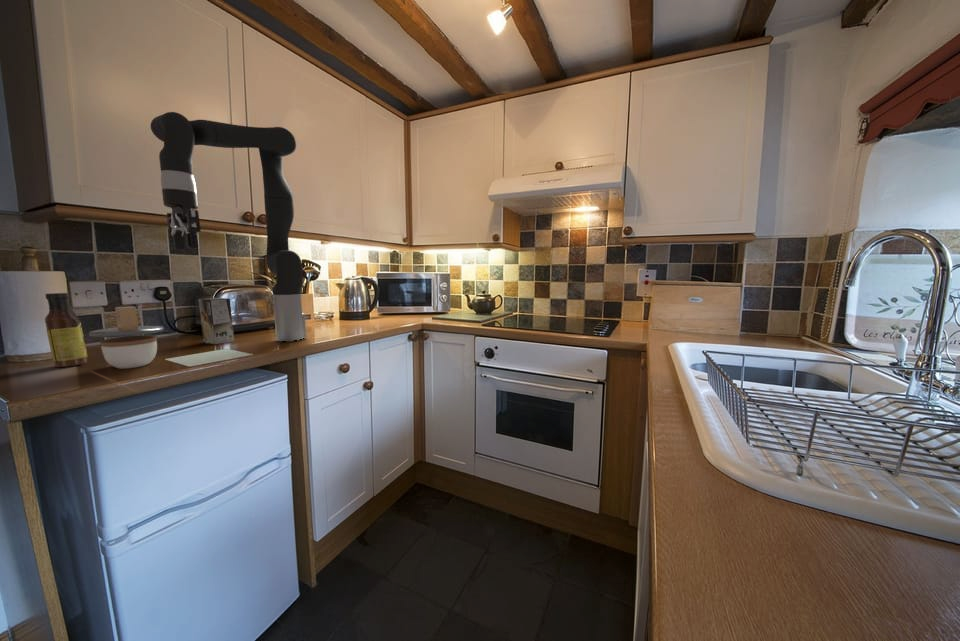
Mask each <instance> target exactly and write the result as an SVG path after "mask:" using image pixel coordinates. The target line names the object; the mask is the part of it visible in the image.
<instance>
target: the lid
mask: <svg viewBox="0 0 960 641" xmlns="http://www.w3.org/2000/svg"><path fill="white" fill-rule="evenodd" d="M114 310H115V317H116V324H117V326H116V327H109V328H103V329H102V328H101V329H96V330H95V329H94V330H92V331H89V332H88V334H89V335H88V336H89V337H91V338H117V337H125V336H138V335H152V334H155V333H156V334H157V333H160V332H164V330H165V328H164V326H162V325H139V323H138V314H137V307H136V306H133V305H132V306H116V307H114Z"/></svg>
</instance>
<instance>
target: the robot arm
mask: <svg viewBox="0 0 960 641" xmlns="http://www.w3.org/2000/svg"><path fill="white" fill-rule="evenodd" d="M150 130H151V132H152V134H153V135H154V136H155V137H156V139H158V140H160V142H163V148H162V149H161V150H160V151H159V156H158V159H159V166H160V186H161V193H162V194H161V195H162V202H163V206H164V207H167V208H170V209H172V210H171V213H170V212H167V213H166V220H167V228H168V229H167V231H168V232H167V233H168V234H169V235H171V236H172V238H173V247H174V249H175V250H185V240H184V239H185V238H184V233H185V237H186V246H187V248H188V249H198V247H199V245H198V235H199V233H200V232H202V231H201V223H200V215H199V210H197V209H198V208H199V203H198V194H197V184H196V180H195V176H194V167H193V166H194V165H193V155H194V147H195V146H206V147H215V148H222V149H223V148H224V149H246V148H247V149H252V148H253V149H258V153H259V158H260V162H261V170H262V181H263V184H262V185H263V196H264V197H263V200H264V212H265V226H266V227H265V228H266V255H265V256H266V258H265V259H266V262H265V264H266V266H267V268H268V270H269V271H270V272H271V273H272V274H273V275H275V276H276V281H275V284H274V285H273V287H272V288H271V289H272V303H273V314H274V325H275V327H274V328H275V339H276V341H277V342H282V341H286V342H295V341H294V340H297V341H301V340H300V339H302V340H303V338H304V339H307V329H306V328H307V327H306V314H305V313H304V312H303V304H302V294H301V293H302V291H301V290H302V287H303V263H302V260H301V258H300V255H299V254H298V253H296V252H295V251H293V250H290V248H289V236H290V231H291V229H292V225H293V222H294V218H295V206H294V204H295V203H294V195H293V192H292V191H291V188H290V186H289V183H287V181H286V178H285V176H284V171H283V158H284V157H287V156H290V155H292V154H294V153H295V151H296V149H297V140H296V138H295V135H294V134H293V133H292V132H291V131H290V130H289V129H287V128H284V127H282V126H272V127H269V126H267V127H259V126H247V125H246V126H245V125H240V124H233V123H232V124H231V123H226V122H220V121H213V120H207V119H194V120H189V119H188V118H187V117H186V116H184V115H183V114H181V113H179V112H176V111H168V112H165V113H162V114H160V115H158V116H155V117H154V118H153V119H152V120H151V122H150Z"/></svg>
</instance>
